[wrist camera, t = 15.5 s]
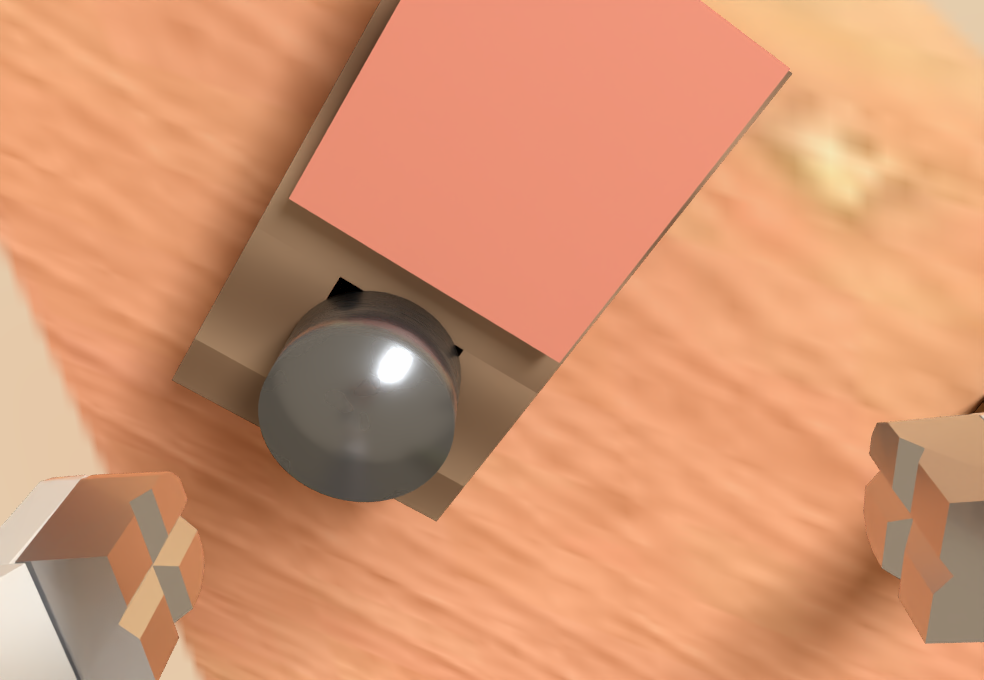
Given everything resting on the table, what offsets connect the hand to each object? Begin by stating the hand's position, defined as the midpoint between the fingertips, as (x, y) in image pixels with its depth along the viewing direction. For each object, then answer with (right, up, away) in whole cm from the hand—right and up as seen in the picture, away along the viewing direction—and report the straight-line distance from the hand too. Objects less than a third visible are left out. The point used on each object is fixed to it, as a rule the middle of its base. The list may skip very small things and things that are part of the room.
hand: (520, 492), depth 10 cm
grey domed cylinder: (-4, +3, +21) cm, 22 cm away
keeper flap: (+1, +8, +13) cm, 15 cm away
